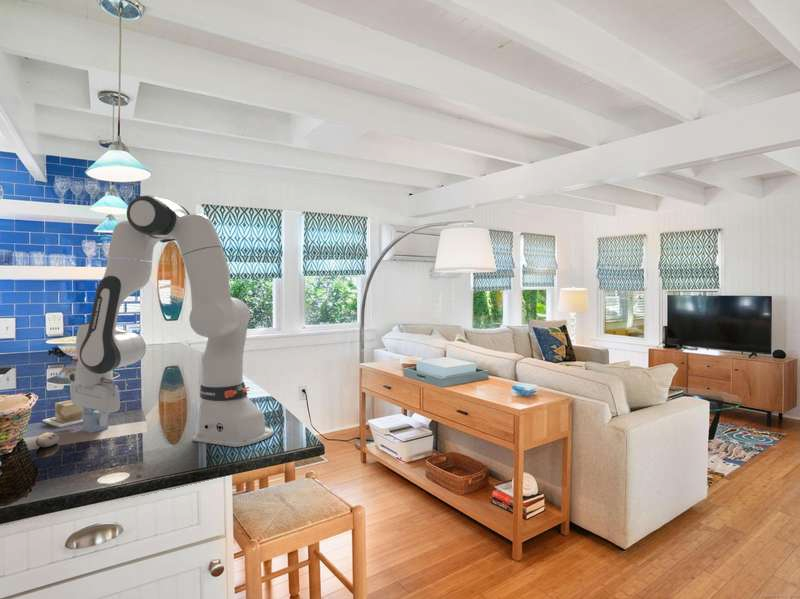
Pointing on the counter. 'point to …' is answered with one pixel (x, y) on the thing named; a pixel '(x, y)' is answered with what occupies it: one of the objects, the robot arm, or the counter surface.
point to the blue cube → (92, 422)
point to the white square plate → (61, 422)
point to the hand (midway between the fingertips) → (95, 423)
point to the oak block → (67, 411)
